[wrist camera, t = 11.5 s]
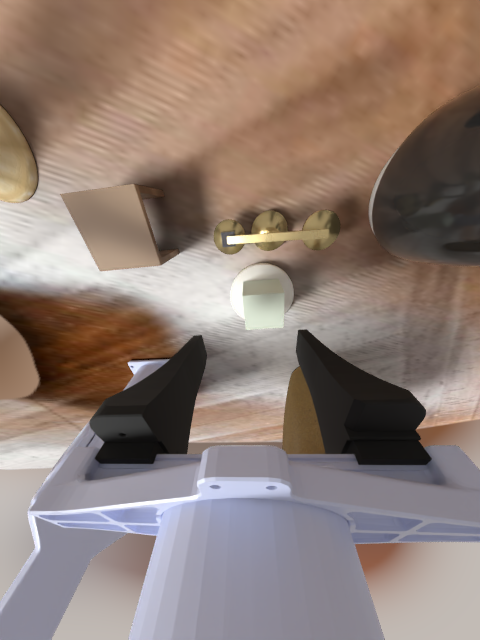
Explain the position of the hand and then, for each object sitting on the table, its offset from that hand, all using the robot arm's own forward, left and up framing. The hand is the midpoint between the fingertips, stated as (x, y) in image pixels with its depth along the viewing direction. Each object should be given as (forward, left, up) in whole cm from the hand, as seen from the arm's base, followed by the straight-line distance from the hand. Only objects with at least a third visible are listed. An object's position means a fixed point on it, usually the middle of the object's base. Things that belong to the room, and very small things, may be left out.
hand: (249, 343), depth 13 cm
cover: (+8, +10, -10) cm, 17 cm away
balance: (+6, -2, -10) cm, 12 cm away
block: (0, -1, -9) cm, 9 cm away
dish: (-1, -1, -10) cm, 10 cm away
